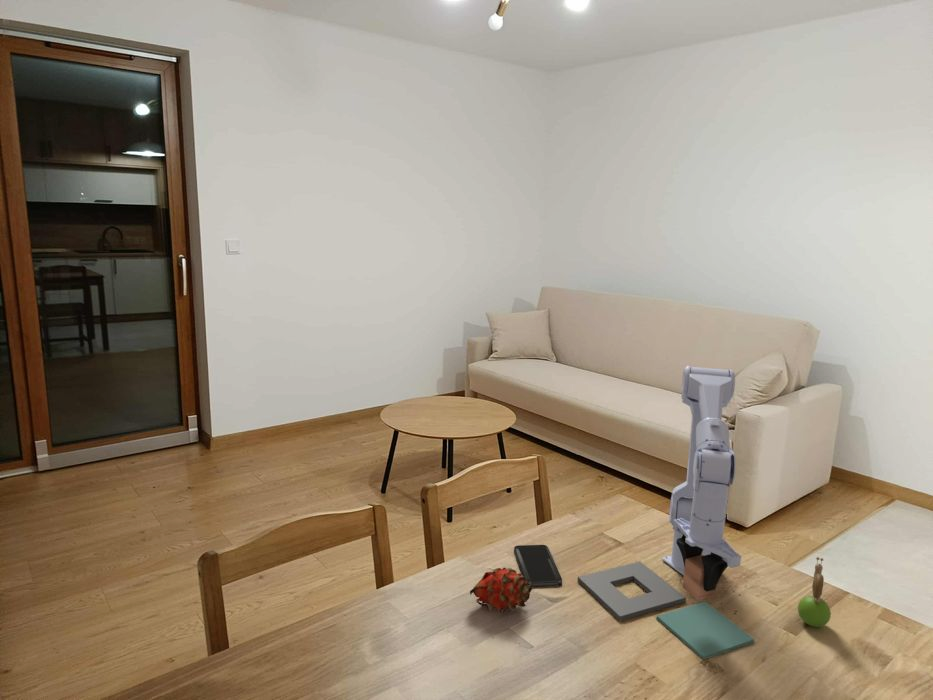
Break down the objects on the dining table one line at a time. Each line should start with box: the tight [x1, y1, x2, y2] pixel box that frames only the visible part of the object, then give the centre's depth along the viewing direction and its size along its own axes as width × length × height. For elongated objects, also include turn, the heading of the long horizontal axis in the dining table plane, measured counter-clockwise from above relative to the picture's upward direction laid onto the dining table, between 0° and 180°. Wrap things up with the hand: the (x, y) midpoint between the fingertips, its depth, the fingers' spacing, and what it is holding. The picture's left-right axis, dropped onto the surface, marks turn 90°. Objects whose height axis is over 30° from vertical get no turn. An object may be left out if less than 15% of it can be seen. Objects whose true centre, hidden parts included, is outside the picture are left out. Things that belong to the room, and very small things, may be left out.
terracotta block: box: [682, 555, 717, 601], centre depth 115 cm, size 4×4×6 cm
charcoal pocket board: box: [577, 561, 687, 622], centre depth 127 cm, size 16×14×1 cm
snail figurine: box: [797, 557, 832, 628], centre depth 118 cm, size 5×6×12 cm
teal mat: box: [656, 601, 755, 660], centre depth 116 cm, size 12×12×1 cm
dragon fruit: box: [469, 567, 533, 615], centre depth 120 cm, size 8×8×12 cm
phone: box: [513, 544, 563, 588], centre depth 135 cm, size 8×1×15 cm
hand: (700, 582), depth 115 cm, fingers closed on terracotta block, 4 cm apart
